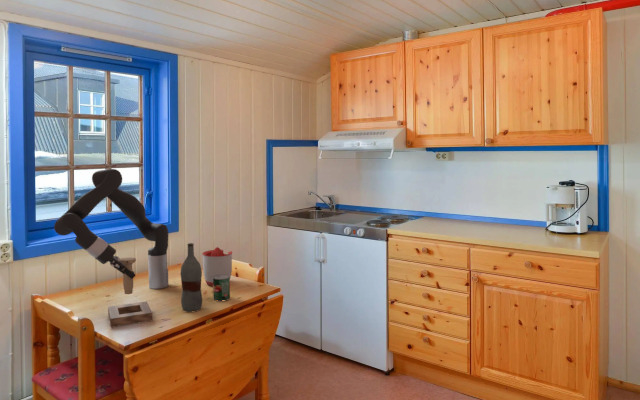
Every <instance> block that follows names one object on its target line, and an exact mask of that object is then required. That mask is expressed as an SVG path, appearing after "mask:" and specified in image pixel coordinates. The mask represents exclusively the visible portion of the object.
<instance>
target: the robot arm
mask: <svg viewBox="0 0 640 400" xmlns="http://www.w3.org/2000/svg"><path fill="white" fill-rule="evenodd" d="M91 181H92V185H94V188H93V189H91V190H89V191H88V192H86V193H84V194H83V195H81V196H80V197H79V198H78V199H77V200H76V201H75V202H74V203H73V204H72V205H71V206H70V208H69V209H68V210H67V211H66V212H65V213H63V214H62V215H61V216H60V217H59V218H58V219H57V220H56V221H55V222H54V225H53V230H54V232H55V233H56V234H57V235H59V236H68V235H70V234H71V233H73V234H74V235H75V236H76V237H75V243H76V244H77V245H78V246H80V247H81V248H82V249H84V251H86V252H87V253H88V254H89V255H90V256H91V257H93V258H94V259H95V260H97V261H98V262H99V263H100V264H102V265H105V264H107V263H108V262H109V264H110V266H111V267H113V268H114V269H116V270H117V271H119V272H120V273H122V275H123V274H126V275H127V276H129V277H130V278H131V279H133V280H134V278H135V277H136V274H135V272H134V271H133V270H132V271H130V270H129V269H128V268H127V267H126V266H125V264H124V263H123V262H121V261H120V259H121V257H119V256H118V255H115V254H116V253H117V249H116V248H114V247H113V246H111V245H110V244H109V243H108V242H106V241H105V240H104V239H102V238H101V237H99V236H98V235H97V234H96V233H94V232H93V231H91V229H90V228H89V227H88V225H87V224H86V223H85V221H84V219H85V218H86V217H88V216H89V215H90V213H91V212H93V210H94V209H95V208H96V207H97V206H98V205H99V204H100V203H101V202H102V201H103V200H105V199H106V198H107V199H109V200H110V201H111V202H112V203H113V204H114V205H115V206H116V207H117V208H118V209H119V211H120V212H121V213H123V215H124V216H125V217H126V218H127V219H129V221H131V223H132V224H133V225H135V227H136V228H137V229H138V230H139V232H140V233H141V234H142V236H143V237H144V238H145V239H146V240H147V241H149V242H154V246H153V247H150V248H148V250H147V263H148V264H147V265H148V287H149V289H155V290H157V289H164V288H167V287H169V268H168V254H167V252H168V247H169V229H168V226H167V225H166V224H164V223H154V222H152V221H150V220H149V218H147V216H146V208H145V206H144V204H142V202H141V201H140V200H139V199H138V198H137V197H135V195H133V194H131V193H129V192H127V191H124V190H122V189H120V186H121V185H122V183H123V176H122V174H121V172H120V171H119V170H117V169H115V168H108V169H107V168H106V169H102V170H101V169H100V170H97V171H95V172H94V173H92V175H91ZM124 268H125V269H124Z"/></svg>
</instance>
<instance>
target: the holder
mask: <svg viewBox="0 0 640 400" xmlns="http://www.w3.org/2000/svg"><path fill="white" fill-rule="evenodd" d="M107 310H108V311H107V312H108V313H107V315H108V320H109V325H110V327H111V328H114V327H113V326H115V327H119V326H118V325H121V326H126V325H125V324H128V325H133V323H134V324H139V322H140V323H146V322H145V321H147V322H152V321H151V320H153V311H152V309H151V307H150V305H149V303H148V301H140V302H132V303H124V304H118V305H111V306H110V305H109V306H107Z"/></svg>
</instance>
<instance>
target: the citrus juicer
mask: <svg viewBox="0 0 640 400" xmlns="http://www.w3.org/2000/svg"><path fill="white" fill-rule="evenodd" d="M201 255H202V274H203V276H204V280H205V282H206V283H205V284H206V285H208V286H211V287H213V276H215V275H222V274H224V275H229V276H230V278H231V276H232V272H233V268H232V267H233V257H232V256H233V251H229V252H228V254H227V253H224V249H221V248H220V247H218V246H217V247H215V248H214V249H212V250H205V251H203V252H202V254H201Z"/></svg>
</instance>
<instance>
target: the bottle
mask: <svg viewBox="0 0 640 400" xmlns="http://www.w3.org/2000/svg"><path fill="white" fill-rule="evenodd" d="M194 246H195V244H194V243H192V242H191V243H187V256H186V257H185V259H184V261H183V262H182V264H181V268H180V281H181V290H182V292H181V299H180V303H181V308H182V311H183V312H186V313H193V312H192V311H195V312H198V311H200V310H201V309H202V306H203V295H202V276H203V269H202V266H201V263H200V262H199V261H198V259H197V258H196V256H195V250H194V249H195V248H194ZM197 310H198V311H197Z"/></svg>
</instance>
